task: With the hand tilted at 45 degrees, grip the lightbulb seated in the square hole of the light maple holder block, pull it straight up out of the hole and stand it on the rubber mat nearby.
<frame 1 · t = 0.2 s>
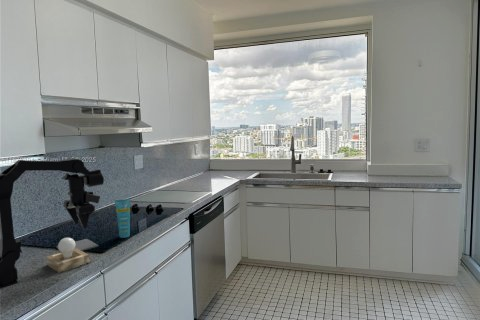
hand: (80, 226, 143), 15 cm above the worktop, tool pointing down, fingers open, 9 cm apart
lightbulb: (68, 264, 142), resting in holder block
mat: (77, 246, 161), on the worktop
holder block: (68, 263, 142), on the worktop
tube: (124, 236, 174), on the worktop
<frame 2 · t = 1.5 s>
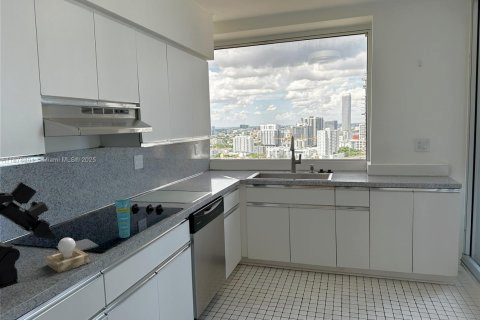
hand: (51, 235, 136), 13 cm above the worktop, tool tilted 45°, fingers open, 9 cm apart
nothing on the worktop moved.
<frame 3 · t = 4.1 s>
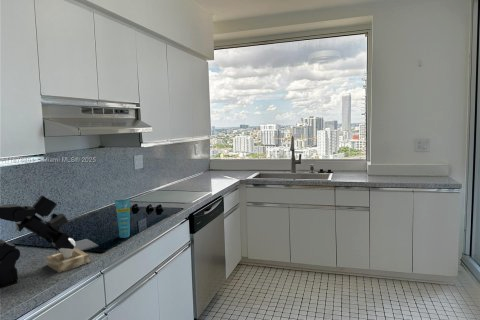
hand: (70, 246, 142), 7 cm above the worktop, tool tilted 45°, fingers closed on lightbulb, 6 cm apart
lightbulb: (68, 264, 142), resting in holder block, touching gripper
everything else where it was.
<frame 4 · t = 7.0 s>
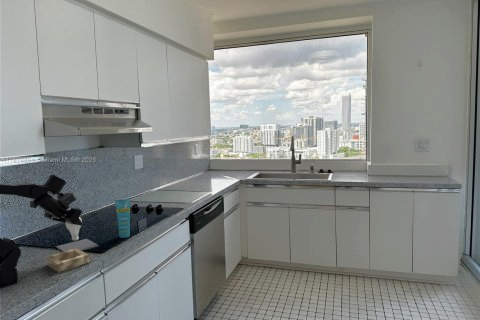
hand: (76, 223, 150), 14 cm above the worktop, tool tilted 45°, fingers closed on lightbulb, 6 cm apart
lightbulb: (75, 241, 149), point 7 cm above the worktop, touching gripper
everything else where it was.
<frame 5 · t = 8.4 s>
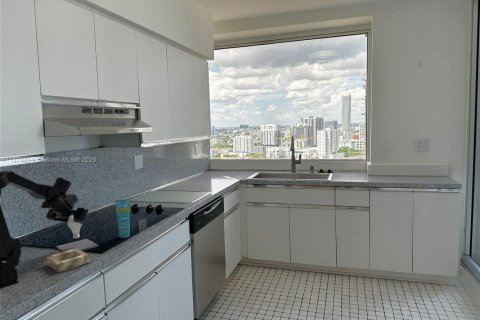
hand: (77, 222, 161), 11 cm above the worktop, tool tilted 45°, fingers closed on lightbulb, 6 cm apart
lightbulb: (76, 238, 161), point 4 cm above the worktop, touching gripper
everything else where it was.
when the fingers open (9 cm above the worktop, at t = 9.8 s): lightbulb stays where it is, resting on mat.
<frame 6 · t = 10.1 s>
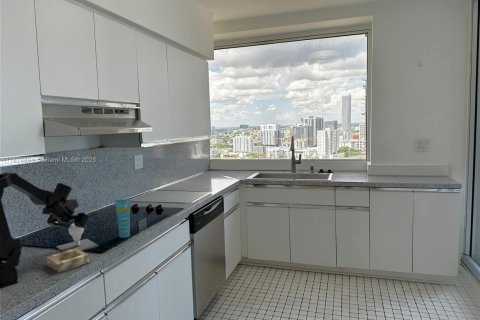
hand: (78, 227, 162), 9 cm above the worktop, tool tilted 45°, fingers open, 9 cm apart
lightbulb: (77, 246, 161), resting on mat
everything else where it was.
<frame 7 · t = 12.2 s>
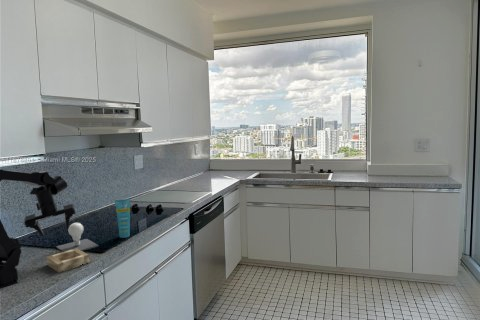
hand: (55, 232, 148), 11 cm above the worktop, tool pointing down, fingers open, 9 cm apart
nothing on the worktop moved.
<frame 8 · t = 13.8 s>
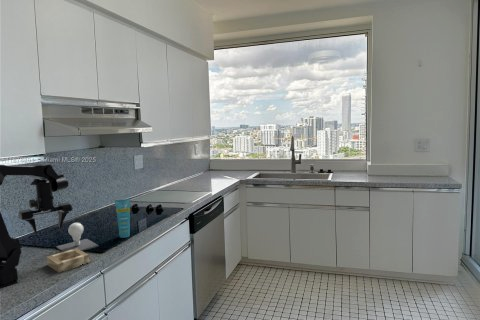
hand: (48, 231, 144), 13 cm above the worktop, tool pointing down, fingers open, 9 cm apart
nothing on the worktop moved.
at the end: lightbulb inside the target area on the mat (0.1 cm from its centre), point 0.4 cm above the mat's base; lightbulb tilted 0°; the gripper is holding nothing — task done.
